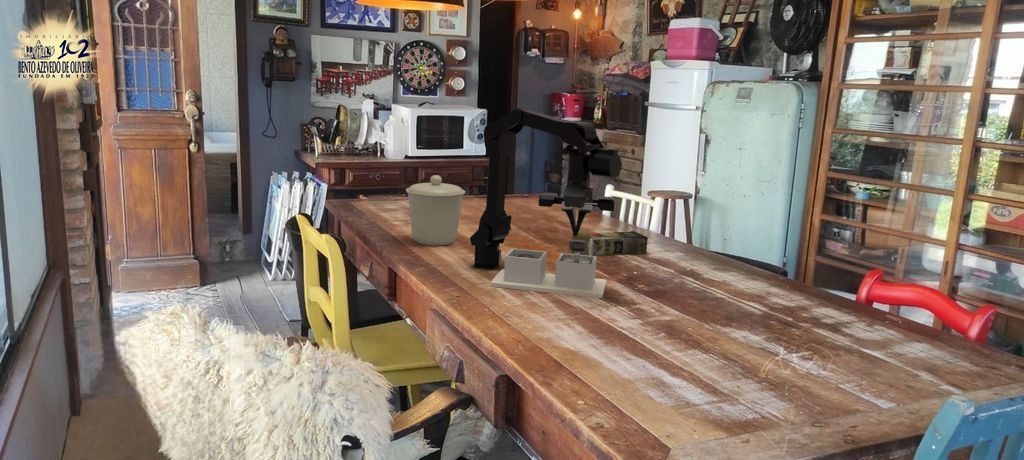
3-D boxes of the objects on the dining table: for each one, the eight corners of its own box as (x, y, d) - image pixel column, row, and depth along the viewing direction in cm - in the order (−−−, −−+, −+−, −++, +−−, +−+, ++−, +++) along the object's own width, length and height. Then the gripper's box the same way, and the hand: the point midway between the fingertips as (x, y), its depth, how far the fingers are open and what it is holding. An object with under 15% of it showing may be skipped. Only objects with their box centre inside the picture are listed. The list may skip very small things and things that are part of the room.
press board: (490, 286, 182) (491, 257, 181) (502, 272, 196) (503, 245, 194) (602, 298, 177) (604, 268, 176) (606, 283, 191) (608, 255, 189)
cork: (588, 272, 200) (591, 233, 198) (566, 270, 201) (569, 231, 199) (590, 267, 206) (593, 229, 204) (569, 265, 207) (572, 227, 205)
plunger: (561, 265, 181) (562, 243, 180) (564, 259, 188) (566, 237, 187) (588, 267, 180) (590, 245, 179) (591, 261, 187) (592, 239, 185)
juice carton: (588, 257, 219) (589, 237, 218) (574, 249, 228) (576, 230, 227) (647, 255, 226) (649, 236, 224) (631, 248, 235) (633, 230, 233)
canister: (460, 250, 218) (463, 180, 213) (400, 247, 218) (401, 177, 214) (465, 237, 236) (468, 173, 231) (409, 234, 236) (411, 170, 231)
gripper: (535, 175, 173) (533, 239, 176) (614, 179, 170) (610, 245, 173) (543, 170, 184) (540, 230, 187) (617, 174, 181) (613, 236, 184)
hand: (575, 235), depth 182 cm, fingers closed
